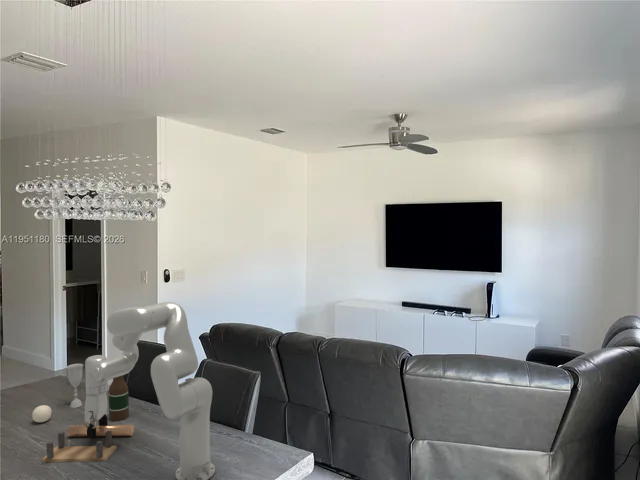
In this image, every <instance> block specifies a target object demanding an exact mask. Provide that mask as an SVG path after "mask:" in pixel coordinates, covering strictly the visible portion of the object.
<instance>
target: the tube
mask: <svg viewBox="0 0 640 480" xmlns="http://www.w3.org/2000/svg"><path fill="white" fill-rule="evenodd" d="M95 428H96V437H106V435H105V433H106V432H107V431H111V437H131V436H133V435H134V432H135V425H134V424H108V425H99V424H96V425H95ZM66 431H67V433H66V434H67V437H68V438H69V437H70V438H71V437H72V438H73V437H74V438H75V437H77V438H78V437H87V429H86V424H85V425H82V424H77V425H72V424H71V425H69V427H68V428H67V430H66Z"/></svg>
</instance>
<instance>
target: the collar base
mask: <svg viewBox="0 0 640 480" xmlns="http://www.w3.org/2000/svg"><path fill="white" fill-rule="evenodd" d="M105 435H106V436H105V445H103V440H98V441H96V442H95V445H84V446H83V445H75V446H71V439H68V440H67V446H66V442H65V441H66V440H65V438H66V436H65V431H60V432H58V433H57V442H58V445H57V446H54V441H48V442H46V445H45V446H46V455H45V456H44V457H43V458H41V463H57V462H58V463H71V462H72V463H73V462H74V463H76V462H79V463H80V462H107V460H109V458H110V457H111V456H112V454H114V452H115V451H116V449H117V445H112V443H113V440H112V437H113V436H111V431H107V432H106V433H105Z"/></svg>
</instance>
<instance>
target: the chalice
mask: <svg viewBox="0 0 640 480" xmlns="http://www.w3.org/2000/svg"><path fill="white" fill-rule="evenodd" d="M83 367H84V364H83V363H74V364H73V363H72V364H70V365H68V366H67V365H66V369H67V379H68V382H69V383H70V385H71V387H73V388H74V390H73V392H74V394H73V397H74V398H73V400H72V401H71V403H70V405H69V407H70V408H78V407H81V406H82V405H83V403H82V401H81V400H80V399H79V398H78V395H79V394H78V386H80V384H81V381H82V378H83Z"/></svg>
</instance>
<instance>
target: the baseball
mask: <svg viewBox="0 0 640 480" xmlns="http://www.w3.org/2000/svg"><path fill="white" fill-rule="evenodd" d="M52 411H53V410H52V408H51V407H50V406H48V405H46V404H45V405H44V404H43V405H38V406H37V407H35V408H34V410H33V411H32V413H31V417H32V420H33V421H34V422H36V423H45V422H47V421H49V419H50V418H51V416H52Z"/></svg>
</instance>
